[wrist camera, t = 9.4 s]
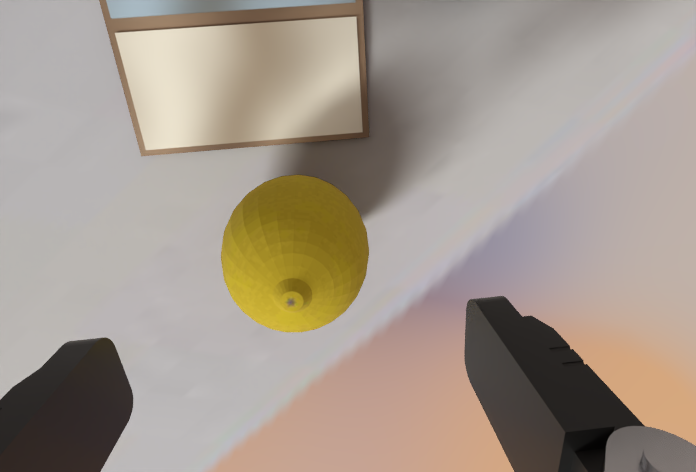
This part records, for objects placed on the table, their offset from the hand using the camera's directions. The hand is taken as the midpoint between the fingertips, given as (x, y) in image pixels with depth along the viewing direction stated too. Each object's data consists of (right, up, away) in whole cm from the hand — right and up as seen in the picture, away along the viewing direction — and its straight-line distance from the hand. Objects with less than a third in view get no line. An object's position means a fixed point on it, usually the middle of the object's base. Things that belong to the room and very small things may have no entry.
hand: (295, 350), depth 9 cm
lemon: (-1, +4, +10) cm, 11 cm away
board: (-3, +11, +7) cm, 13 cm away
